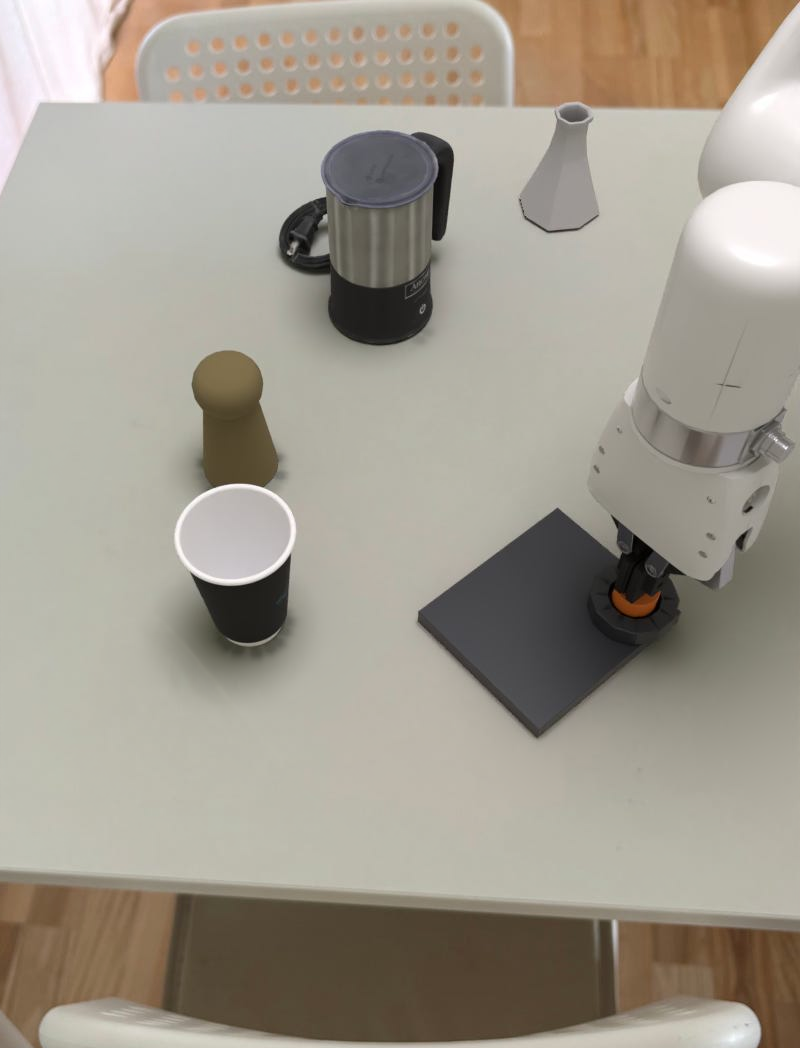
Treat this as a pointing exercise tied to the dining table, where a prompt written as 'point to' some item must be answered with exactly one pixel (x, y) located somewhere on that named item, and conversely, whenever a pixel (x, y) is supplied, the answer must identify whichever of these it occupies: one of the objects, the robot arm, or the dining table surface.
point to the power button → (635, 604)
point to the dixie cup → (239, 558)
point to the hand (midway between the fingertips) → (637, 584)
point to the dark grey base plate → (544, 621)
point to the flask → (563, 175)
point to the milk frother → (377, 230)
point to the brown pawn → (233, 420)
